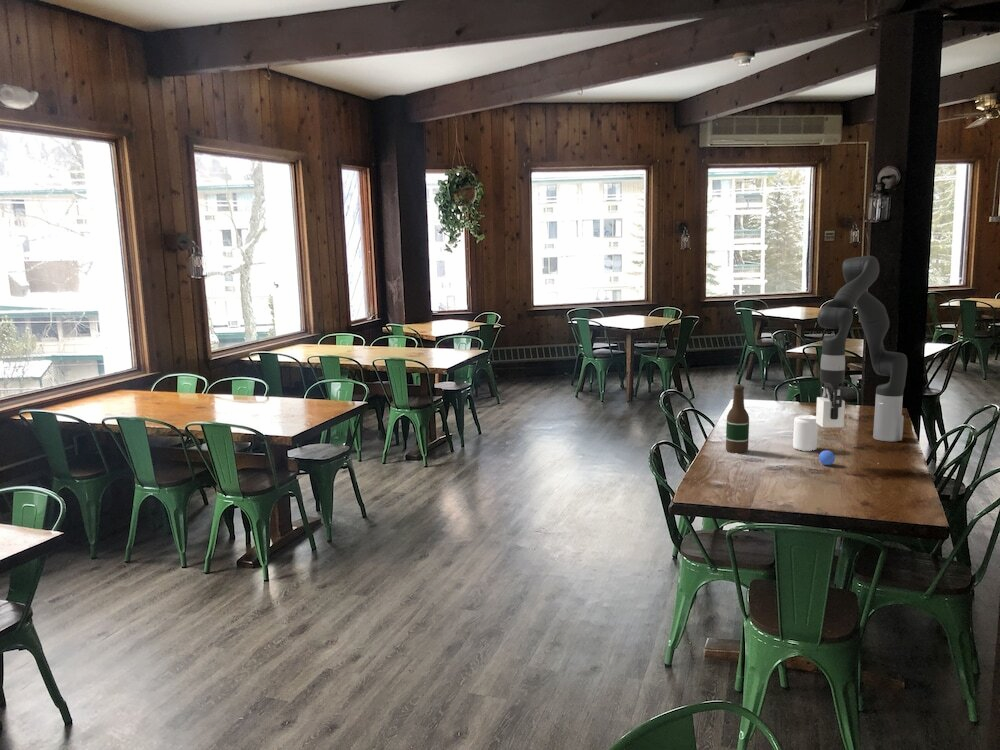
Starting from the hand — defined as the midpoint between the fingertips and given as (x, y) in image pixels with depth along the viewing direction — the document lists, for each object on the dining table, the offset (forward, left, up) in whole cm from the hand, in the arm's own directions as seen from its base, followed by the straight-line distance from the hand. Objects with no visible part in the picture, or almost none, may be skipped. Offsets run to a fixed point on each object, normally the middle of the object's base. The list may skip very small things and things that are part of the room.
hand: (830, 416), depth 271 cm
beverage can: (+1, -21, -17) cm, 27 cm away
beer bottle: (+26, -18, -17) cm, 36 cm away
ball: (0, 0, -14) cm, 14 cm away
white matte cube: (0, 0, -3) cm, 3 cm away
